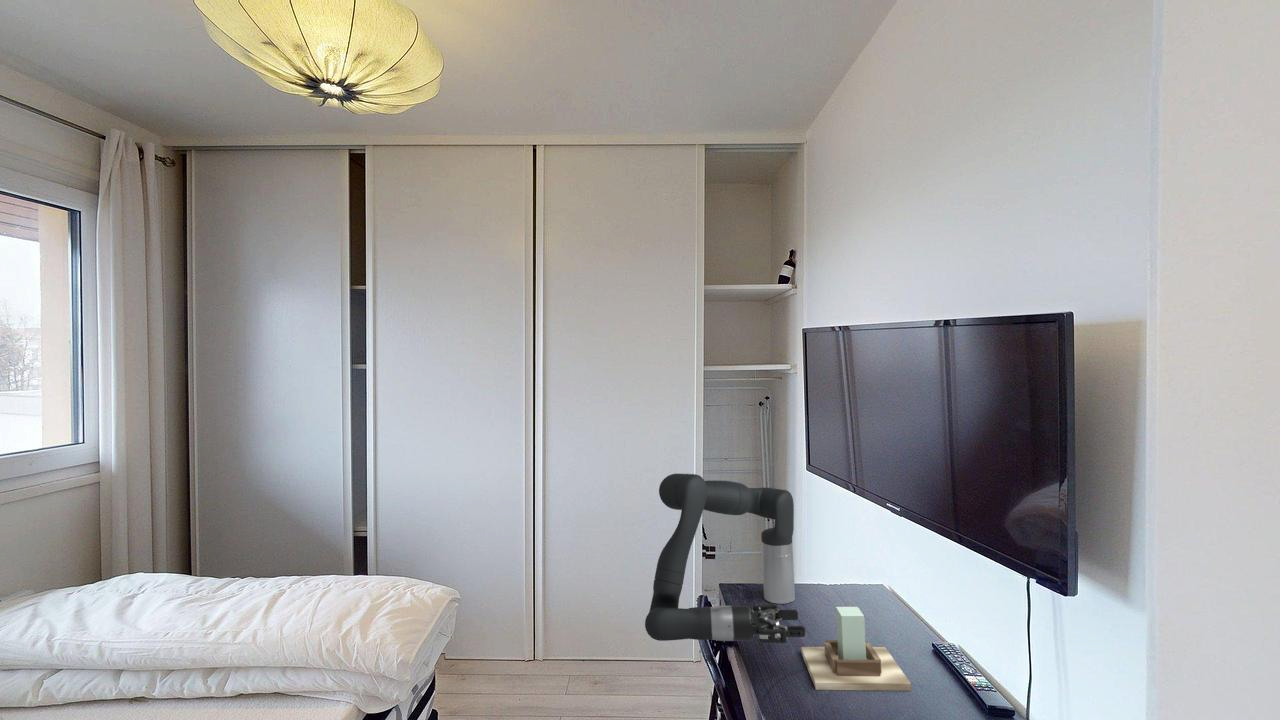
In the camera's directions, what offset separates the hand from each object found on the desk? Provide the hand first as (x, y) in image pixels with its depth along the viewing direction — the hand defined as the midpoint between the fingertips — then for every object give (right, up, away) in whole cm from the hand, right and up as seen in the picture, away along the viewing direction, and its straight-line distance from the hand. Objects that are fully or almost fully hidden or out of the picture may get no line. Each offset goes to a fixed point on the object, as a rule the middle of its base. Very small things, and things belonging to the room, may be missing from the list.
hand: (800, 622), depth 131 cm
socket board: (+11, -10, -1) cm, 15 cm away
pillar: (+11, -9, -1) cm, 14 cm away
